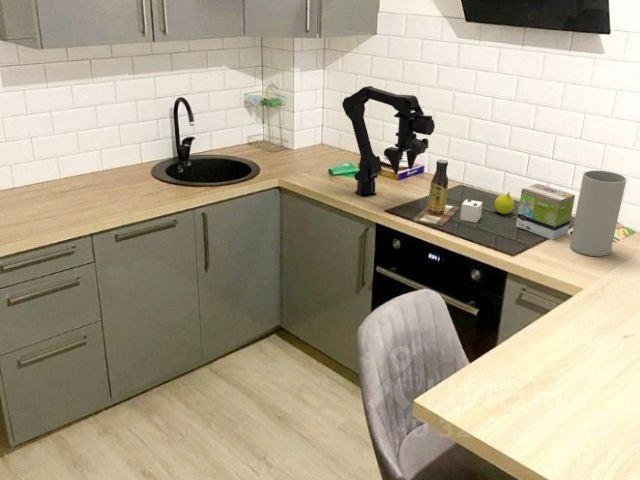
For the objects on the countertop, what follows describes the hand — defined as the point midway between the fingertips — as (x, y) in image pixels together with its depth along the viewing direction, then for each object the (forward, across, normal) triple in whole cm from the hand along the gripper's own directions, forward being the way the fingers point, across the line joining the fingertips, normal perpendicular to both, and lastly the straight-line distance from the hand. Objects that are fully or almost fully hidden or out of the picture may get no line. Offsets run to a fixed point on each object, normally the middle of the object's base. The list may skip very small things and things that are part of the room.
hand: (403, 171), depth 241 cm
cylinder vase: (+14, +8, -70) cm, 71 cm away
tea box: (+14, +13, -51) cm, 54 cm away
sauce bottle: (+12, 0, -16) cm, 20 cm away
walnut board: (+13, 0, -16) cm, 21 cm away
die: (+13, +5, -27) cm, 31 cm away
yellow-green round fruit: (+13, +19, -33) cm, 40 cm away
